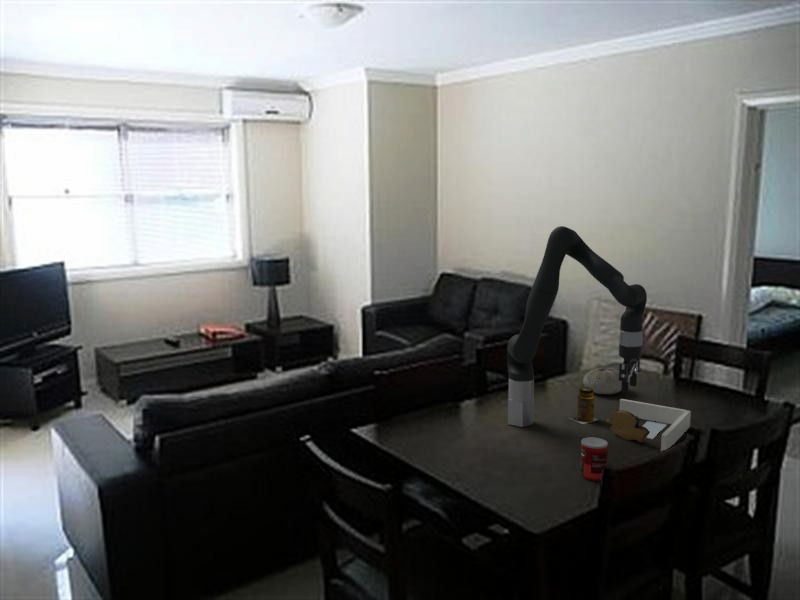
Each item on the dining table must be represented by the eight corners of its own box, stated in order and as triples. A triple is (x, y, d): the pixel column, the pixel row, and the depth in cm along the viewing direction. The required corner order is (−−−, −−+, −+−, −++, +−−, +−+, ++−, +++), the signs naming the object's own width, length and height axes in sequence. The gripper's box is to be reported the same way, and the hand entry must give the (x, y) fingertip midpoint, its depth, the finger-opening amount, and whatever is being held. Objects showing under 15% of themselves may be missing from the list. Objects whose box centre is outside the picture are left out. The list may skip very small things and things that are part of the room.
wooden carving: (652, 443, 236) (653, 415, 234) (644, 446, 233) (646, 418, 231) (610, 430, 248) (611, 404, 247) (603, 433, 245) (603, 407, 244)
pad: (652, 439, 239) (652, 438, 239) (632, 435, 243) (632, 434, 243) (667, 425, 253) (667, 424, 253) (647, 421, 257) (647, 420, 257)
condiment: (598, 420, 260) (599, 389, 258) (583, 424, 255) (583, 393, 253) (583, 414, 266) (584, 384, 264) (568, 419, 261) (569, 388, 259)
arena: (665, 453, 227) (666, 435, 226) (590, 437, 242) (591, 421, 241) (690, 426, 251) (690, 410, 250) (620, 413, 266) (621, 398, 265)
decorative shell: (575, 388, 300) (575, 365, 298) (610, 383, 305) (611, 361, 303) (598, 400, 283) (599, 376, 281) (635, 395, 288) (636, 372, 286)
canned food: (586, 468, 217) (587, 435, 215) (611, 474, 212) (612, 440, 210) (575, 476, 211) (576, 442, 209) (600, 483, 206) (601, 448, 204)
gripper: (626, 337, 243) (625, 382, 245) (612, 346, 232) (610, 392, 234) (648, 340, 238) (646, 385, 241) (634, 348, 227) (633, 396, 230)
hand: (629, 388), depth 238 cm, fingers open, 8 cm apart
